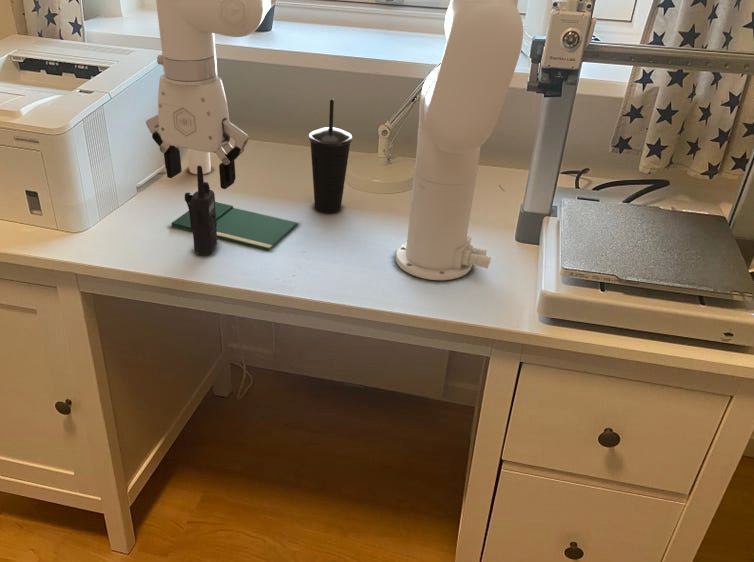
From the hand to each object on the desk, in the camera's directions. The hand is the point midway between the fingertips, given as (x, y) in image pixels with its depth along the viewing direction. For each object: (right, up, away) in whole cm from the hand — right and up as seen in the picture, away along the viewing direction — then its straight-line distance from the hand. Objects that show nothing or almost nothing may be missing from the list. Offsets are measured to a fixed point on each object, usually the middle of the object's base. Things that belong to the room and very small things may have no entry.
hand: (200, 180), depth 119 cm
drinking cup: (+20, 0, +22) cm, 30 cm away
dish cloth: (+3, -5, +14) cm, 16 cm away
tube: (-6, +10, +34) cm, 36 cm away
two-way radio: (-1, -10, +7) cm, 12 cm away
